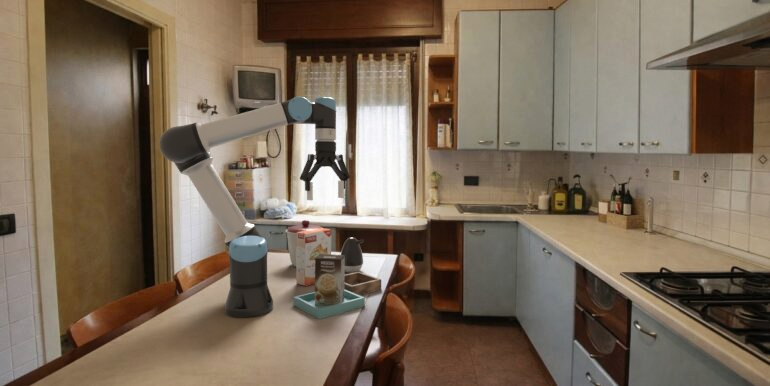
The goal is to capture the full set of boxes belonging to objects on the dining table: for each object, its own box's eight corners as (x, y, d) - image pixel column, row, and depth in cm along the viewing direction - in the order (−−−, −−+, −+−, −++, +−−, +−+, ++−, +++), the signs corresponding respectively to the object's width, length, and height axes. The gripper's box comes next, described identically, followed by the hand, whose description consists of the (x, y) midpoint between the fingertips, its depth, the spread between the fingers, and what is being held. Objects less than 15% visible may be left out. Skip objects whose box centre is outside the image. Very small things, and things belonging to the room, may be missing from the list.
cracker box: (305, 287, 166) (305, 233, 164) (295, 284, 170) (295, 231, 168) (332, 279, 177) (332, 229, 175) (322, 276, 180) (321, 227, 179)
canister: (282, 262, 203) (281, 218, 201) (319, 258, 211) (319, 216, 209) (290, 272, 187) (290, 224, 185) (330, 267, 194) (330, 221, 193)
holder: (351, 297, 154) (351, 286, 154) (329, 288, 165) (329, 278, 164) (381, 289, 163) (381, 279, 163) (358, 281, 174) (358, 271, 173)
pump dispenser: (360, 275, 183) (360, 240, 182) (336, 273, 185) (336, 238, 184) (366, 269, 193) (366, 235, 192) (343, 267, 195) (343, 234, 194)
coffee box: (313, 305, 143) (313, 257, 142) (319, 298, 149) (319, 253, 148) (340, 306, 142) (340, 259, 140) (345, 300, 148) (345, 254, 147)
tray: (319, 319, 134) (319, 309, 133) (293, 305, 145) (293, 296, 145) (364, 306, 145) (364, 297, 145) (337, 294, 157) (337, 286, 157)
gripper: (300, 139, 145) (301, 202, 147) (359, 141, 162) (358, 197, 163) (289, 140, 151) (290, 200, 153) (347, 142, 167) (347, 196, 169)
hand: (325, 199), depth 158 cm, fingers open, 13 cm apart
